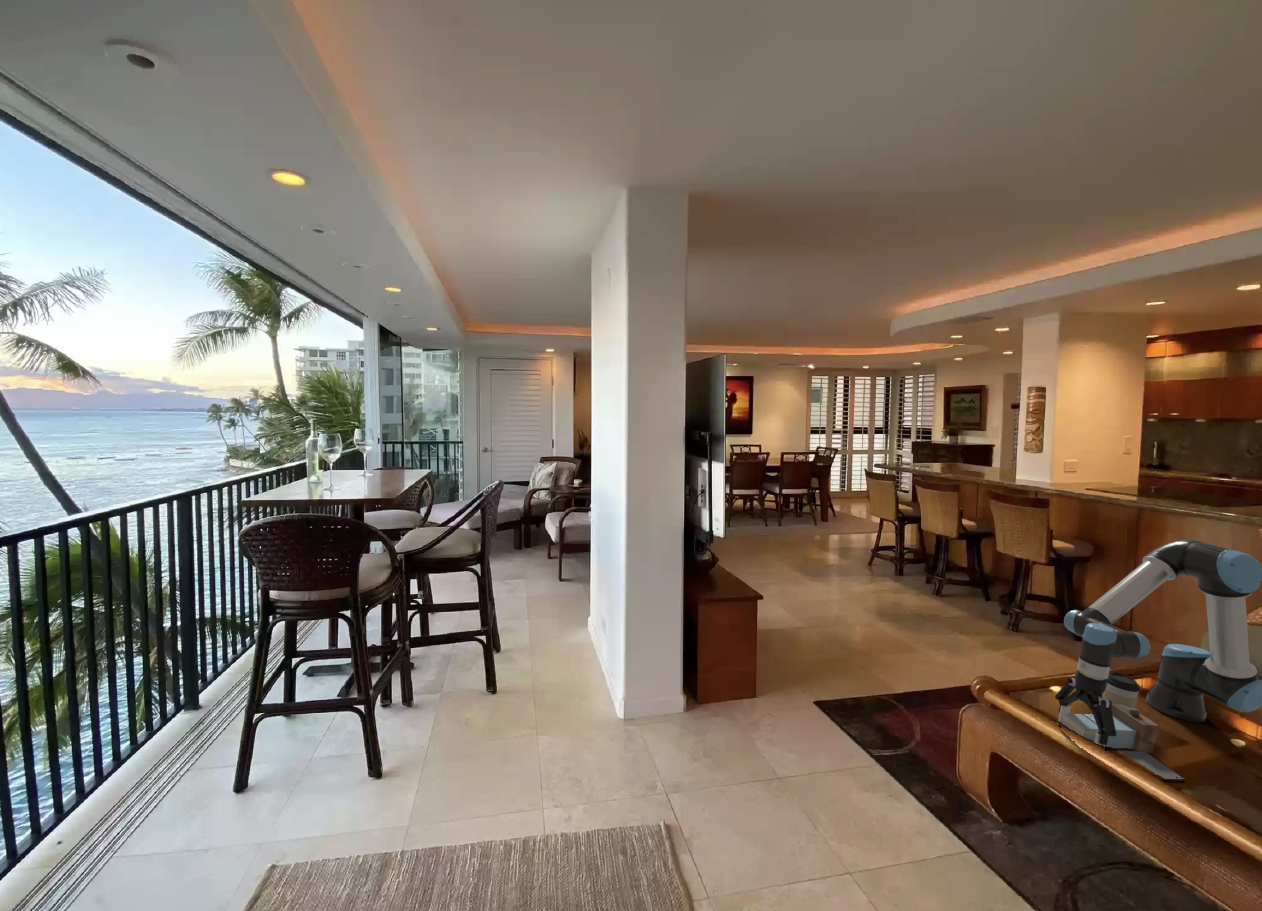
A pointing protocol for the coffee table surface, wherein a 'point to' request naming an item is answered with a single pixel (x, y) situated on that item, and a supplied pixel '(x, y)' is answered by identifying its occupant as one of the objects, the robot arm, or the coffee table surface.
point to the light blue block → (1080, 725)
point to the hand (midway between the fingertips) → (1079, 738)
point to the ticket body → (1118, 734)
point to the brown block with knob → (1137, 727)
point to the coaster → (1151, 764)
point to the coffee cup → (1121, 690)
